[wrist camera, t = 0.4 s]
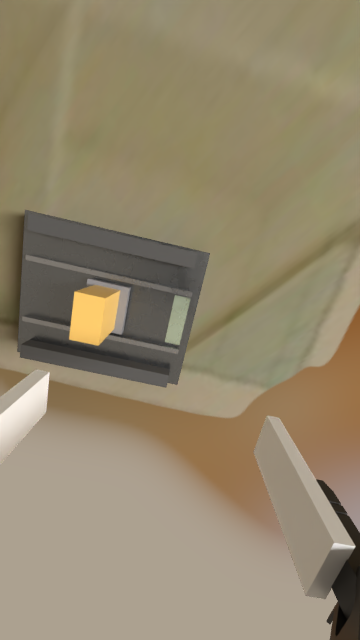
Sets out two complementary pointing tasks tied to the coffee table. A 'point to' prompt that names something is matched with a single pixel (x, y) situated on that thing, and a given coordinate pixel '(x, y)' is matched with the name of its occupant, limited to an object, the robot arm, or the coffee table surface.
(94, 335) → the handle
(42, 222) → the pair of guide rails
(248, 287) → the coffee table surface
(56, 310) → the grey rail base
